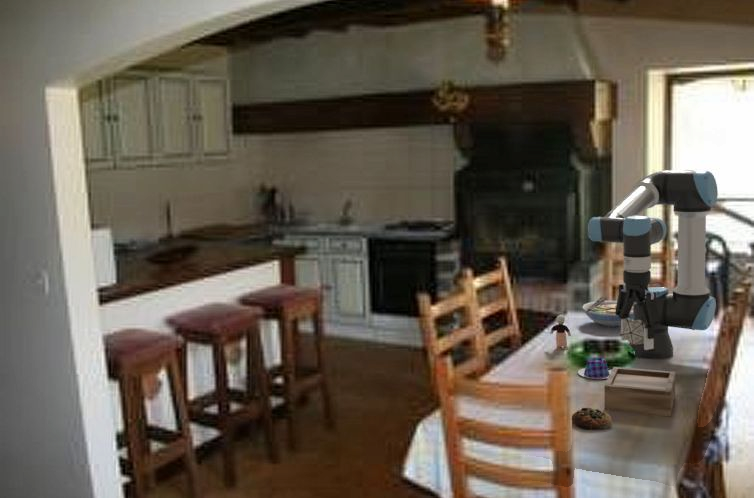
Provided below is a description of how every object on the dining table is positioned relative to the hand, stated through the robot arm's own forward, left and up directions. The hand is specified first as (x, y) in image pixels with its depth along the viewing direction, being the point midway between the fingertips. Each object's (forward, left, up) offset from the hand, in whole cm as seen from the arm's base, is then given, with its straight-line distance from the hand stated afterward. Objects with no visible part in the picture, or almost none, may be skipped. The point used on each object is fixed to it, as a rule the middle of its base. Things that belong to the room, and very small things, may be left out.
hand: (636, 344), depth 227 cm
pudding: (-5, -26, -18) cm, 32 cm away
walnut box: (-1, +1, -18) cm, 18 cm away
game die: (0, 0, 0) cm, 0 cm away
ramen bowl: (-46, -73, -18) cm, 88 cm away
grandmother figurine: (-11, -56, -18) cm, 60 cm away
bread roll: (+21, +7, -18) cm, 29 cm away
